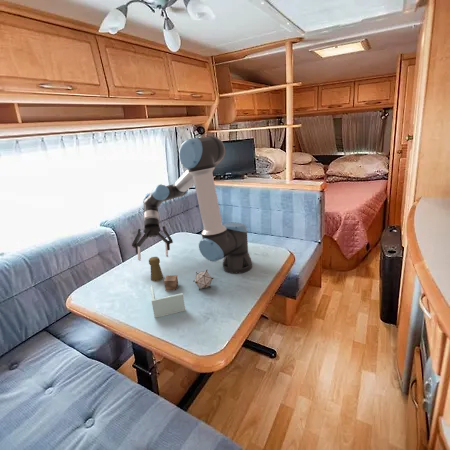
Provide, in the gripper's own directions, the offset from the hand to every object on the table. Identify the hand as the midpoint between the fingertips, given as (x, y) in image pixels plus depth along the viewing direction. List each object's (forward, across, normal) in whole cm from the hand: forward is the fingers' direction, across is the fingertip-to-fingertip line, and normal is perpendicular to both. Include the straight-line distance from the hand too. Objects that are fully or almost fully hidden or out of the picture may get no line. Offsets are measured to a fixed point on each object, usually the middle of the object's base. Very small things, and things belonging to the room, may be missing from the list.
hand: (153, 258), depth 142 cm
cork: (+10, -1, -3) cm, 10 cm away
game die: (+20, -23, +8) cm, 32 cm away
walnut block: (+17, -8, +5) cm, 20 cm away
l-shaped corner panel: (+28, -8, +15) cm, 32 cm away
